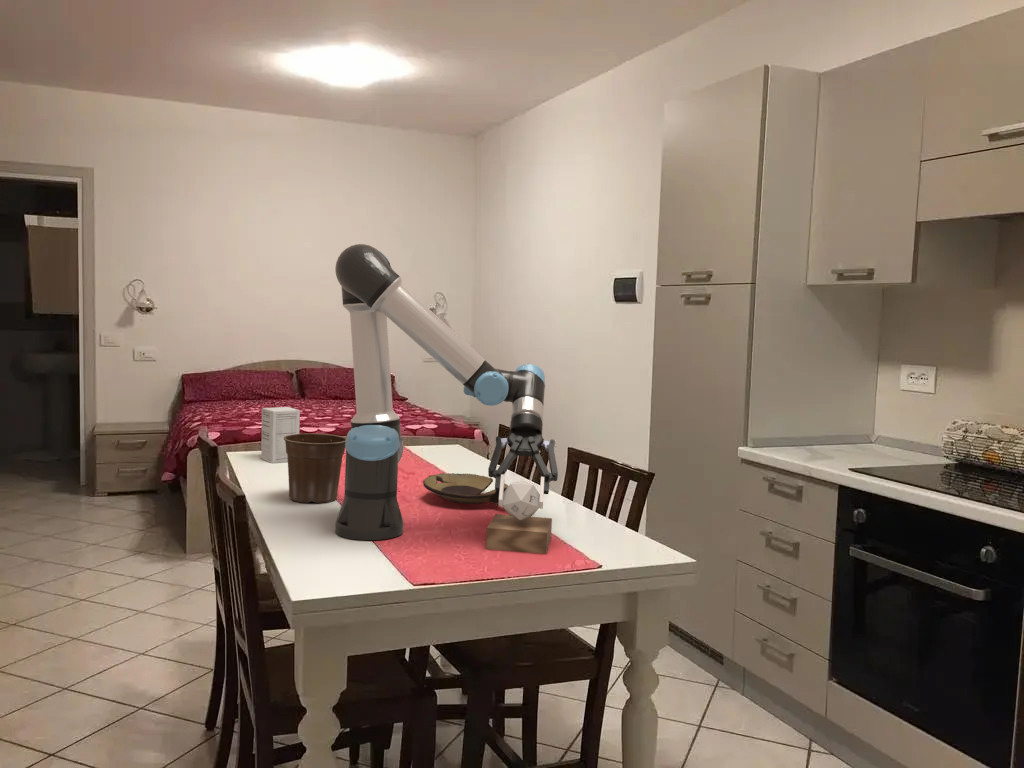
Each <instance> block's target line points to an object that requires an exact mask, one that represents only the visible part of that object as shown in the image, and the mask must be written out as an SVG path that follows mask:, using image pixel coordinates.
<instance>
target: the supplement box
mask: <svg viewBox="0 0 1024 768" xmlns="http://www.w3.org/2000/svg"><path fill="white" fill-rule="evenodd" d="M300 413H301V411H300V409H297V408H293V407H290V406H279V407H277V406H276V407H262V408H261V446H260V447H261V448H260V449H261V450H260V451H261V452H260V453H261V455H260V459H261V460H263V461H265V462H268V463H271V464H278V463H288V457H287V453H286V444H285V440H284V437H285V436H287V435H293V434H300V418H301V416H300Z"/></svg>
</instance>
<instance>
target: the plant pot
mask: <svg viewBox="0 0 1024 768" xmlns="http://www.w3.org/2000/svg"><path fill="white" fill-rule="evenodd" d="M284 440H285V444H286V453H287V457H288V462H287V471H288V473H287V475H288V492H289V493H288V494H289V495H288V497H289V499H290V500H291V501H294V502H295V503H303V504H304V503H305V504H309V503H311V502H313V503H315V504H325V503H330V502H333V501H336V500H337V497H338V493H339V485H340V477H341V469H342V462H343V455H345V452H346V447H345V442H346V440H347V437H345V436H342V435H336V434H329V433H309V432H308V433H299V434H293V435H287V436H285V437H284Z"/></svg>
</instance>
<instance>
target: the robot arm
mask: <svg viewBox="0 0 1024 768" xmlns="http://www.w3.org/2000/svg"><path fill="white" fill-rule="evenodd" d="M335 276H336V279H337V281H338V283H339V285H340V287H341V298H342V307H343V308H345V310H347V311H348V313H349V317H350V334H351V348H352V364H353V376H354V377H353V378H354V392H355V408H356V414H355V415H354V416H353V417H352V418H351V419H350V430H349V431H348V432H347V434H346V438H347V440H346V442H345V468H344V469H345V471H344V472H345V473H344V497H343V501H342V503H341V506H340V509H339V512H338V514H337V517H336V520H335V529H334V530H335V531H334V532H335V533H336V535H338V536H340V537H342V538H345V539H351V540H359V541H361V540H362V541H381V540H388V539H393V538H396V537H400V536H401V535H402V534H403V533H404V523H405V522H404V519H403V516H402V511H401V510H400V508H401V507H400V505H399V502H398V474H399V471H398V469H399V463H400V461H401V459H402V456H403V452H404V441H403V438H402V432H401V420H400V419H401V418H400V416H399V415H398V413H396V412H395V411H394V408H393V406H394V405H393V394H392V379H391V378H392V377H391V365H390V363H391V360H390V348H389V345H390V344H389V335H388V334H389V333H388V331H389V329H388V319H389V320H390V321H391V322H393V324H395V325H396V327H398V328H399V329H400V330H402V331H403V333H405V334H406V335H407V336H408V337H409V338H410V339H411V340H413V341H414V343H416V344H417V345H418V346H419V347H421V348H422V349H423V350H424V351H425V352H426V353H427V354H428V355H429V356H430V357H432V358H433V359H434V360H435V362H437V363H438V364H439V365H440V366H442V368H444V369H445V370H446V371H448V373H450V375H452V376H453V377H454V378H455V379H456V380H457V381H459V383H460V384H462V385H463V393H464V395H466V396H470V397H474V398H476V399H477V400H478V401H479V402H480V403H481V404H483V405H486V406H491V407H492V406H498V405H500V404H502V402H507V403H511V411H510V412H511V413H510V414H511V415H510V427H509V434H508V436H507V437H501V436H500V435H498V436H497V435H496V436H495V446H494V447H495V448H494V450H493V454H492V457H491V460H490V462H489V465H488V469H487V471H488V478H494V479H495V482H494V490H495V491H499V503H498V507H503V506H502V504H503V493H504V483H505V475H506V472H507V471H508V470H509V468H510V466H511V465H512V464H513V461H514V460H516V458H517V457H522V456H525V457H531V458H532V460H533V461H534V464H535V465H536V467H537V469H538V471H539V474H540V485H539V486H540V488H539V489H540V491H539V494H540V505H539V509H540V510H543V508H544V495H549V493H550V483H551V482H552V481H553V482H556V481H558V478H559V477H558V476H559V475H558V474H559V472H558V466H557V460H556V455H555V447H556V441H555V439H554V438H553V439H550V440H545V439H544V438H543V420H544V406H545V405H544V403H545V401H544V400H545V389H546V380H545V373H544V370H543V369H542V368H541V367H539V366H538V365H536V364H531V363H528V364H520V365H519V366H518V367H517V368H516V369H515V371H514V370H513V371H511V370H505V369H500V368H495V367H494V366H492V365H491V364H490V363H489V362H488V361H487V360H485V358H484V357H482V356H481V354H479V353H478V351H476V350H475V349H474V348H473V347H472V346H470V345H469V343H467V342H466V341H465V340H464V339H463V338H462V337H460V335H458V334H457V333H456V332H455V331H454V330H453V329H452V328H450V326H448V325H447V324H446V323H445V322H444V321H443V320H442V319H441V318H439V317H438V316H437V314H435V312H433V311H432V310H431V309H429V307H428V306H426V304H424V303H423V302H422V301H421V300H420V299H419V298H417V296H416V295H414V294H413V293H412V292H411V291H410V290H409V289H408V288H407V287H405V286H404V285H403V283H402V277H401V276H400V275H399V274H398V273H397V272H396V271H395V270H394V269H393V268H392V266H391V263H390V260H389V259H388V258H387V256H386V255H385V254H384V253H382V252H381V251H380V250H378V249H377V248H375V247H374V246H371V245H369V244H365V243H359V244H354V245H350V246H349V247H347V248H345V249H343V251H341V253H340V254H339V256H338V257H337V260H336V262H335ZM506 445H507V446H508V447H509V448H510V449H509V451H508V453H506V456H505V457H504V459H503V460H502V461H501V463H500V465H499V466H498V464H499V460H500V457H501V455H502V449H504V448H505V447H506ZM542 447H544V449H545V451H546V452H547V456H548V458H547V459H548V464H549V469H550V472H549V470H548V468H547V466H546V464H545V462H544V459H543V457H542V455H541V454H540V450H541V449H542ZM497 467H498V468H497ZM539 509H538V510H539Z"/></svg>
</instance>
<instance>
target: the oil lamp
mask: <svg viewBox="0 0 1024 768" xmlns="http://www.w3.org/2000/svg"><path fill="white" fill-rule="evenodd" d="M493 482H494V479H493V477H489V476H485V475H479V474H474V473H453V472H452V473H449V472H448V473H437V474H433V475H428V477H426V478H424V480H423V481H422V484H423V487H424V488H425V489H426V490H427V491H430V493H432V494H434V495H436V496H438V497H440V498H442V499H444V500H446V501H450V502H452V503H456V504H464V505H475V504H476V505H477V504H483V503H492V504H499V491H495V489H491V490H490V491H486V489H488V488H489V487H490V485H492V483H493ZM508 486H509V485H508V484H507V483H505V482H504V491H505V490H506V489H507V487H508ZM483 492H484V493H483Z"/></svg>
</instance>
